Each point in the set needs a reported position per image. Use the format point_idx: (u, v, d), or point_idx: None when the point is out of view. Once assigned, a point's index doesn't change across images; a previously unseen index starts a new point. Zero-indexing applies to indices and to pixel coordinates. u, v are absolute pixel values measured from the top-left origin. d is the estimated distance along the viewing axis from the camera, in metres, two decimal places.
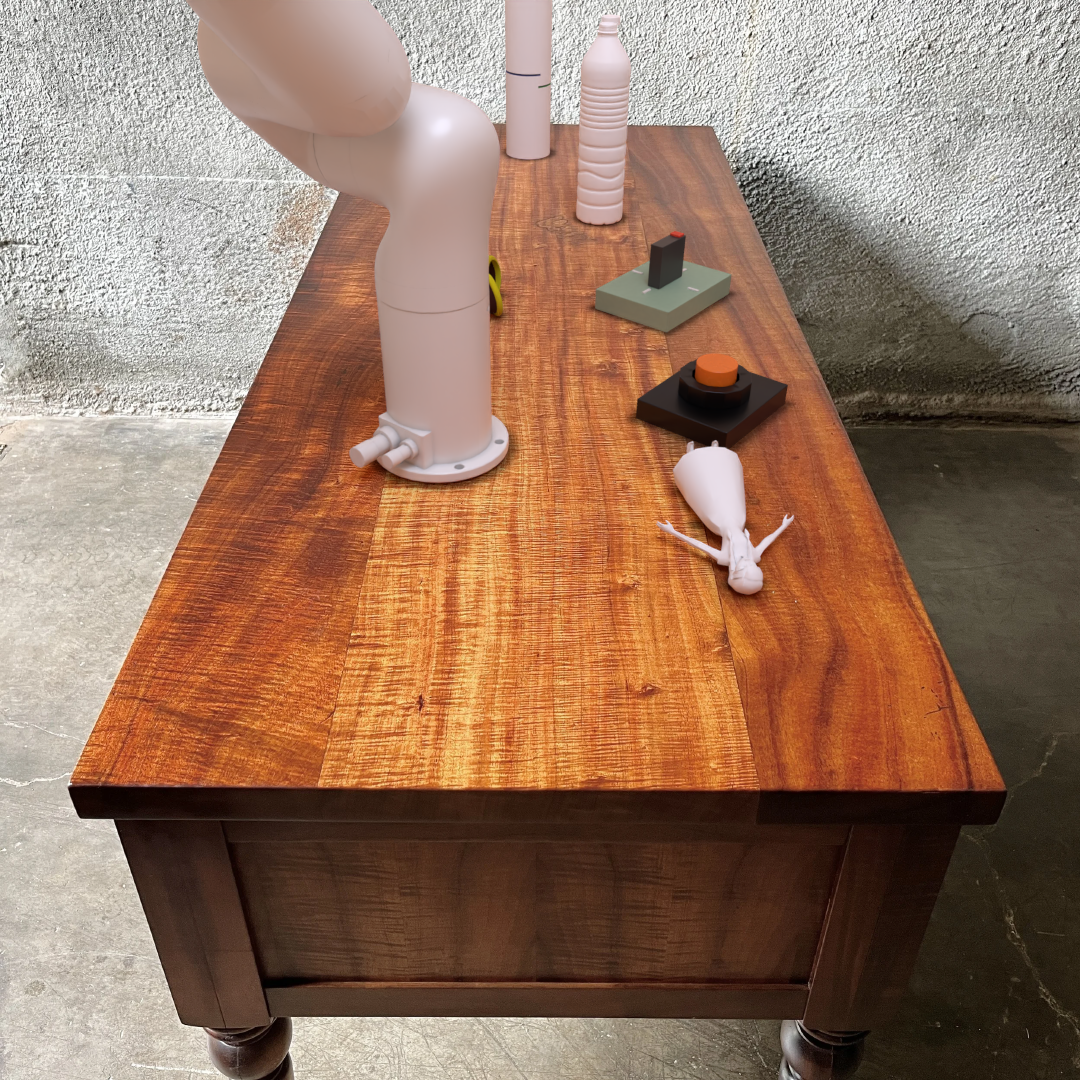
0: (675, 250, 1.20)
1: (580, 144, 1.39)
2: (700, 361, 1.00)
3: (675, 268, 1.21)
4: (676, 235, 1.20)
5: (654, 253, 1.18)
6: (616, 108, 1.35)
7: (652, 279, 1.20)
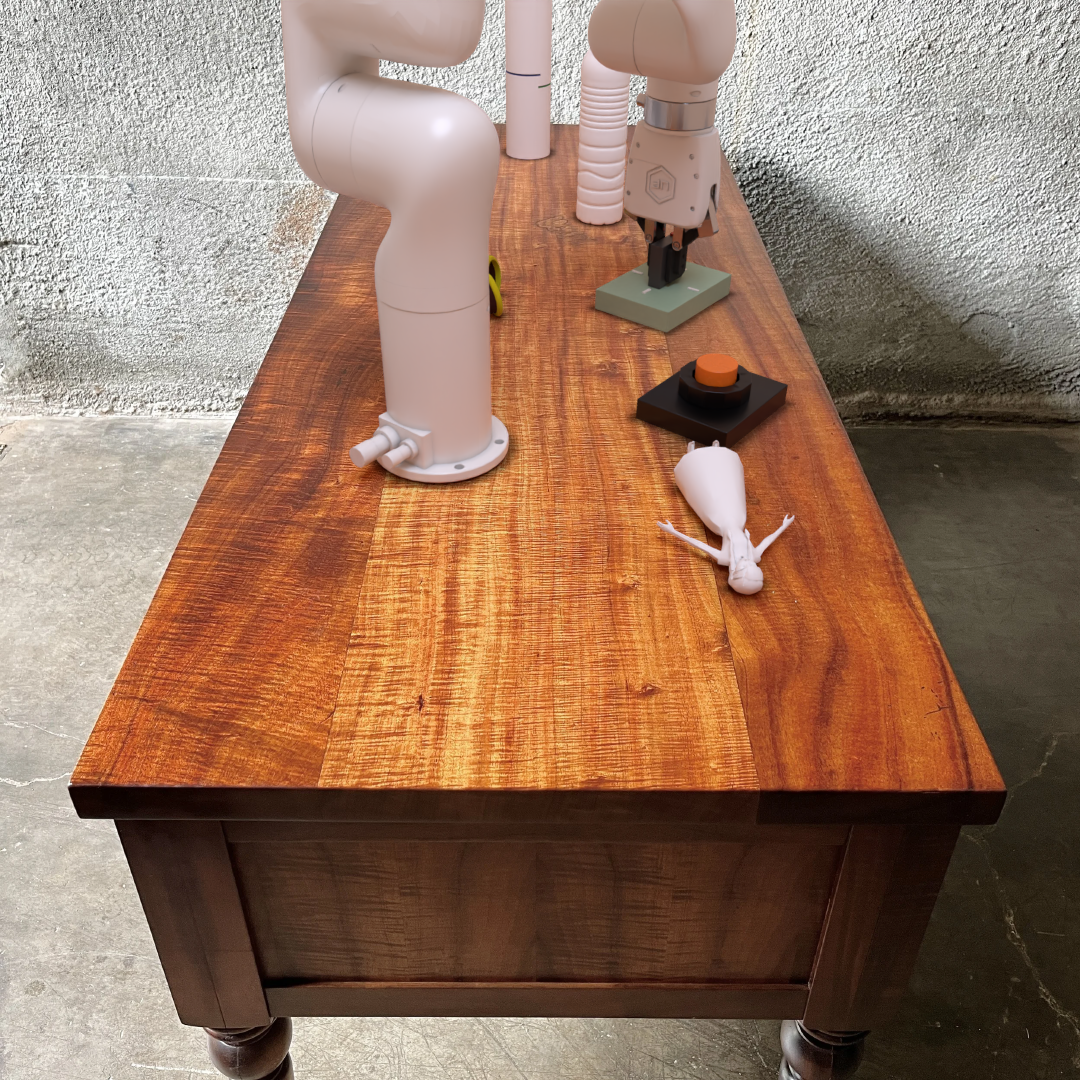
0: None
1: (580, 144, 1.39)
2: (700, 361, 1.00)
3: None
4: None
5: (654, 253, 1.18)
6: (616, 108, 1.35)
7: (652, 279, 1.20)
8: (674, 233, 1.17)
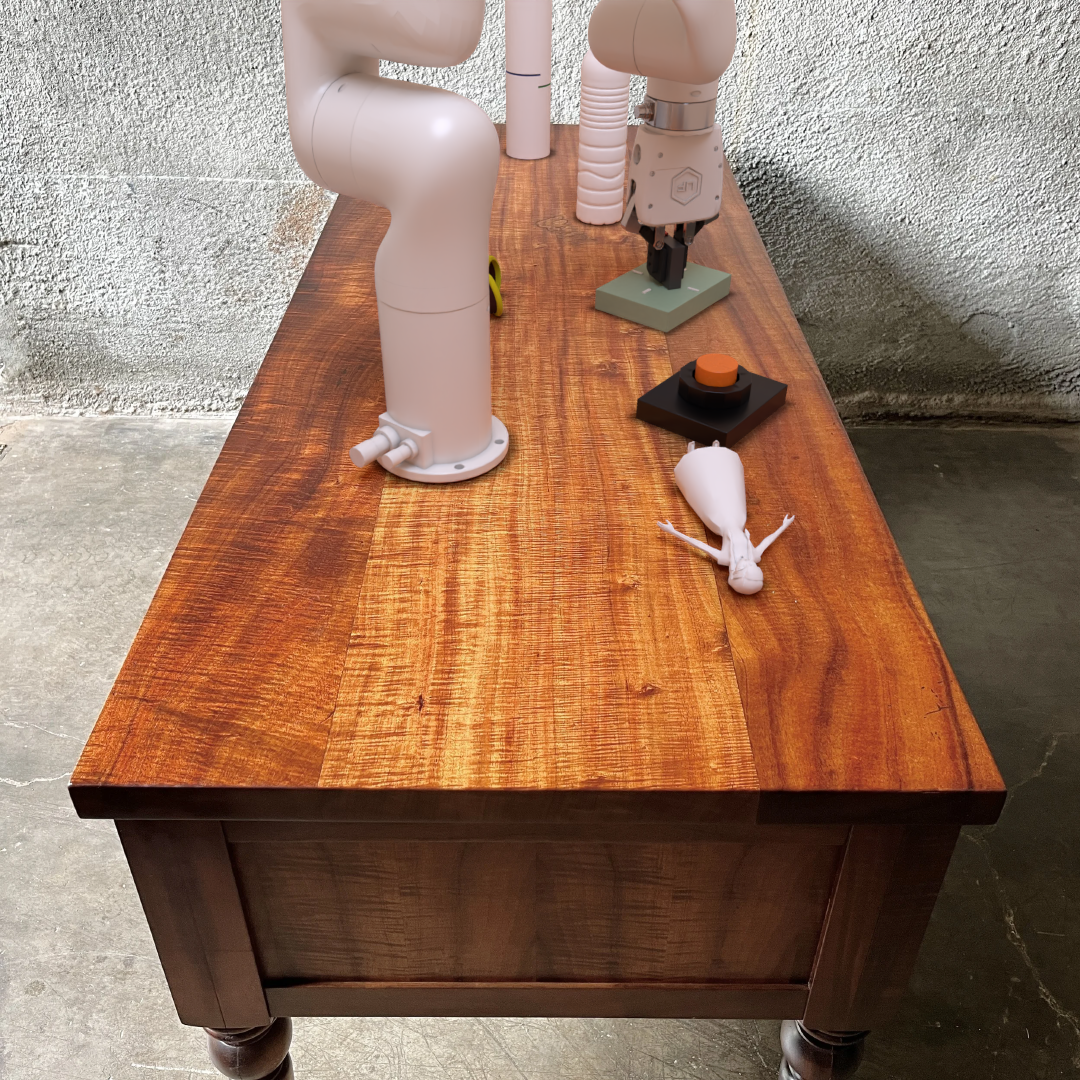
0: None
1: (580, 144, 1.39)
2: (700, 361, 1.00)
3: None
4: None
5: (676, 255, 1.18)
6: (616, 108, 1.35)
7: (674, 281, 1.20)
8: (687, 229, 1.18)
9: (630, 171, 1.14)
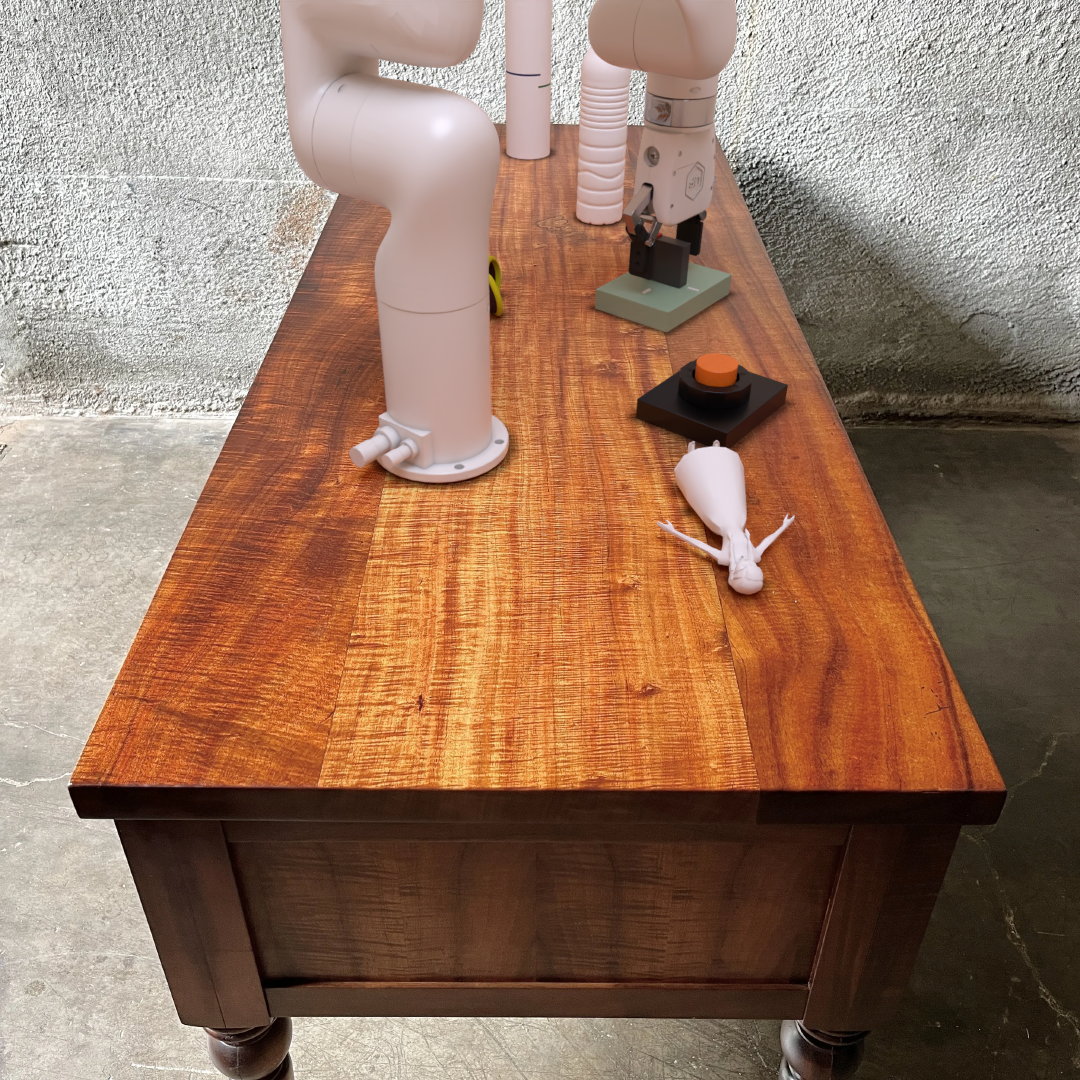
0: None
1: (580, 144, 1.39)
2: (700, 361, 1.00)
3: None
4: (659, 235, 1.20)
5: (685, 253, 1.18)
6: (616, 108, 1.35)
7: (682, 279, 1.20)
8: None
9: (639, 175, 1.12)
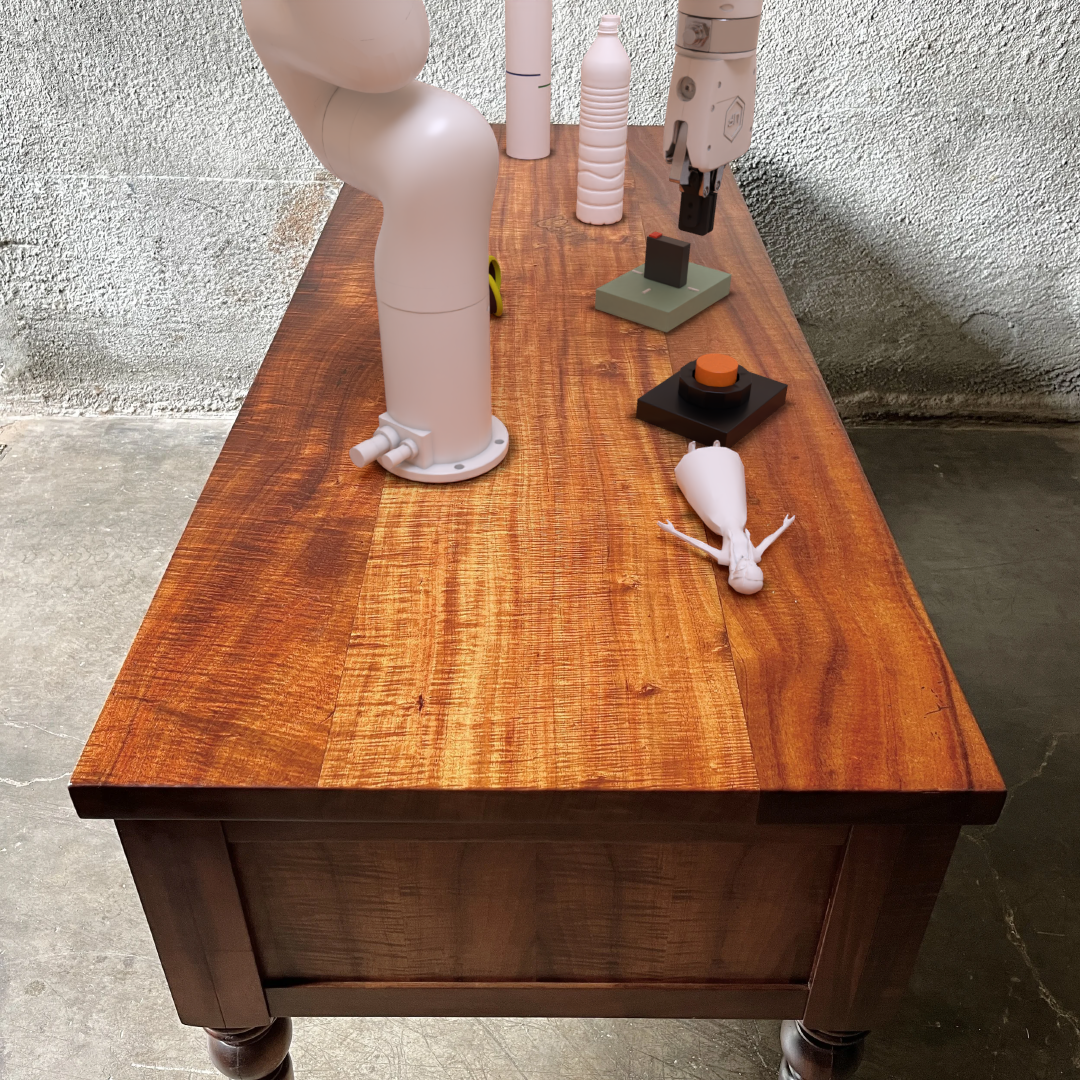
0: None
1: (580, 144, 1.39)
2: (700, 361, 1.00)
3: None
4: (659, 235, 1.20)
5: (685, 253, 1.18)
6: (616, 108, 1.35)
7: (682, 279, 1.20)
8: (718, 172, 1.02)
9: (671, 111, 0.96)
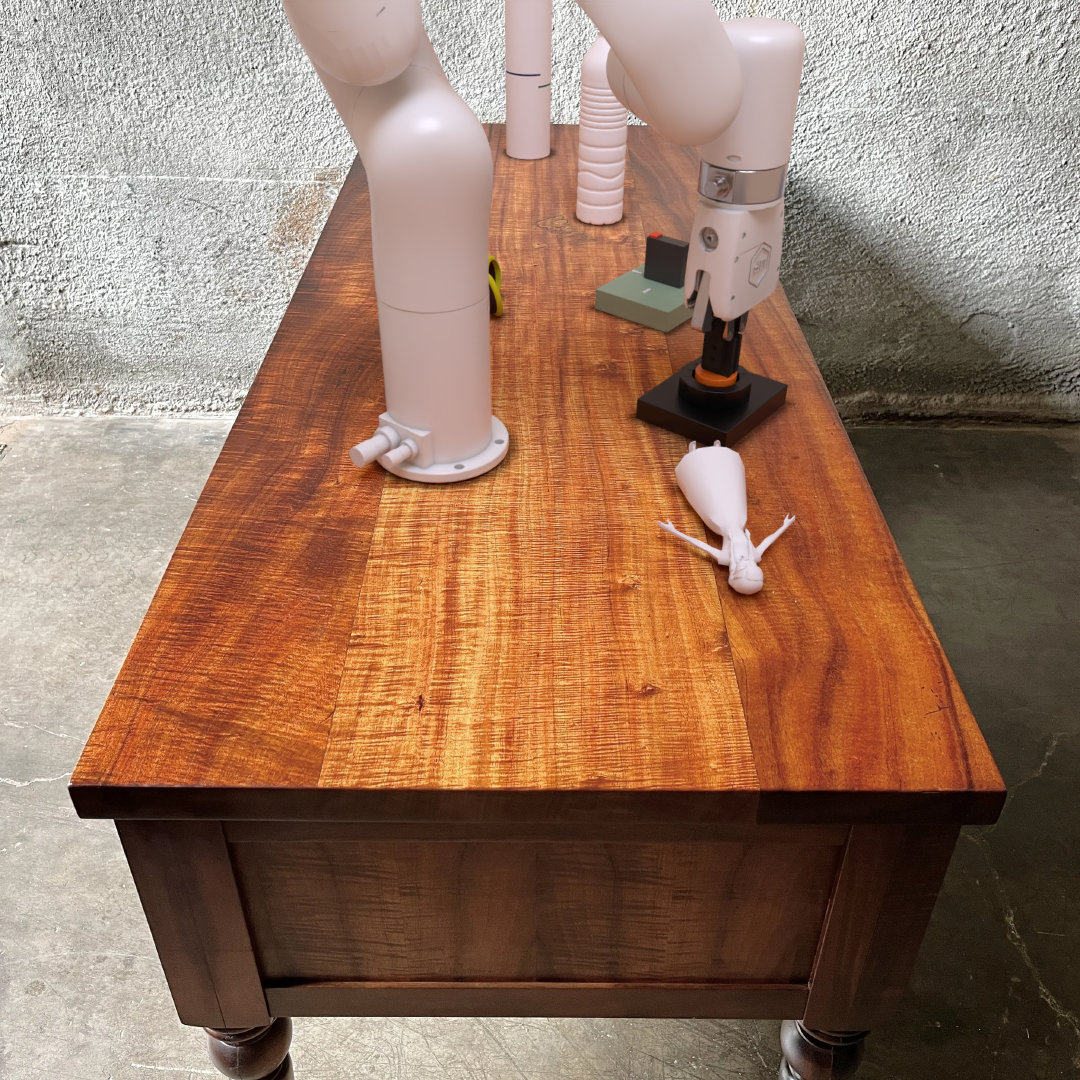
0: None
1: (580, 144, 1.39)
2: (699, 370, 1.00)
3: None
4: (659, 235, 1.20)
5: (685, 253, 1.18)
6: (616, 108, 1.35)
7: (682, 279, 1.20)
8: (743, 313, 0.97)
9: (692, 260, 0.90)
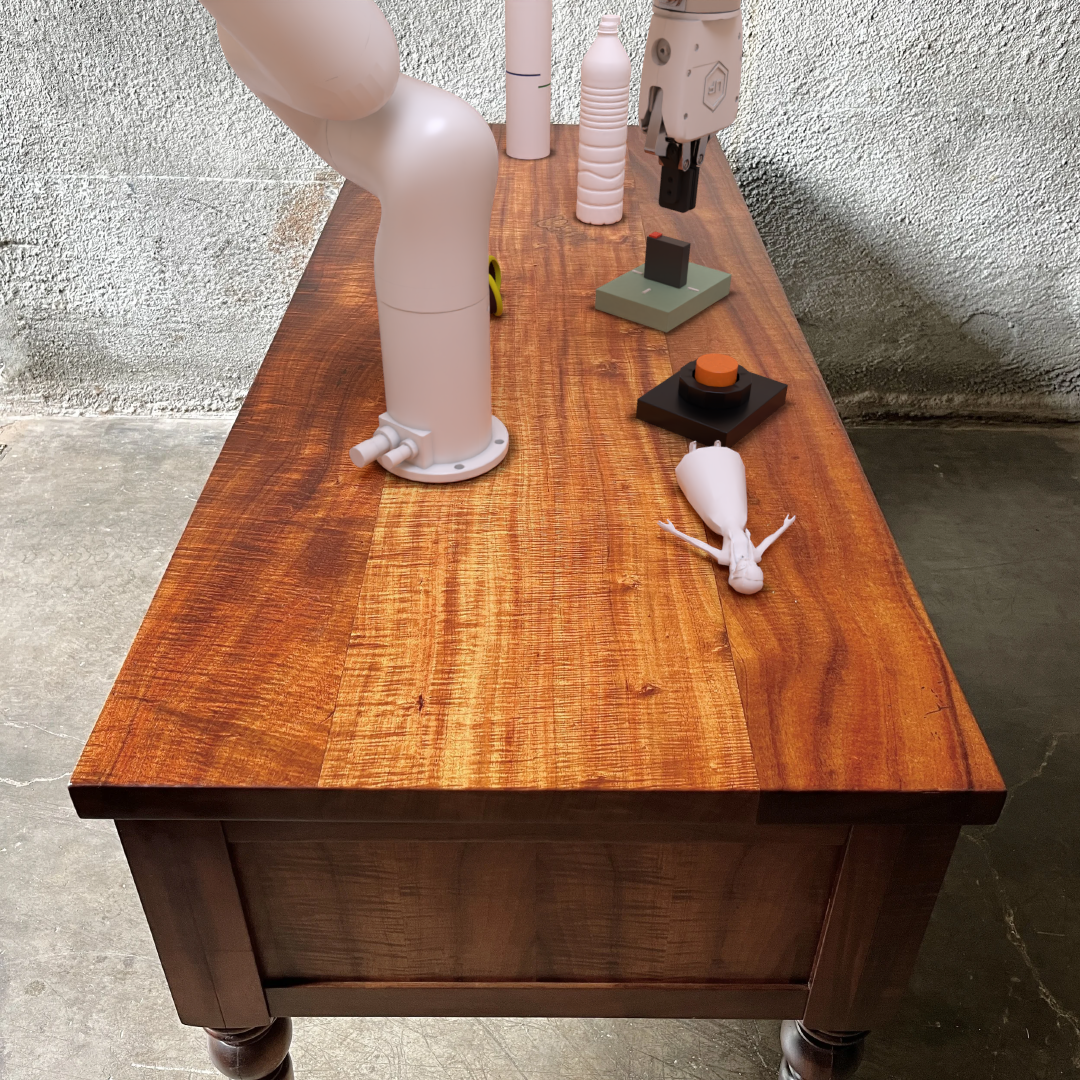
0: None
1: (580, 144, 1.39)
2: (700, 361, 1.00)
3: None
4: (659, 235, 1.20)
5: (685, 253, 1.18)
6: (616, 108, 1.35)
7: (682, 279, 1.20)
8: (701, 144, 0.95)
9: (646, 77, 0.89)
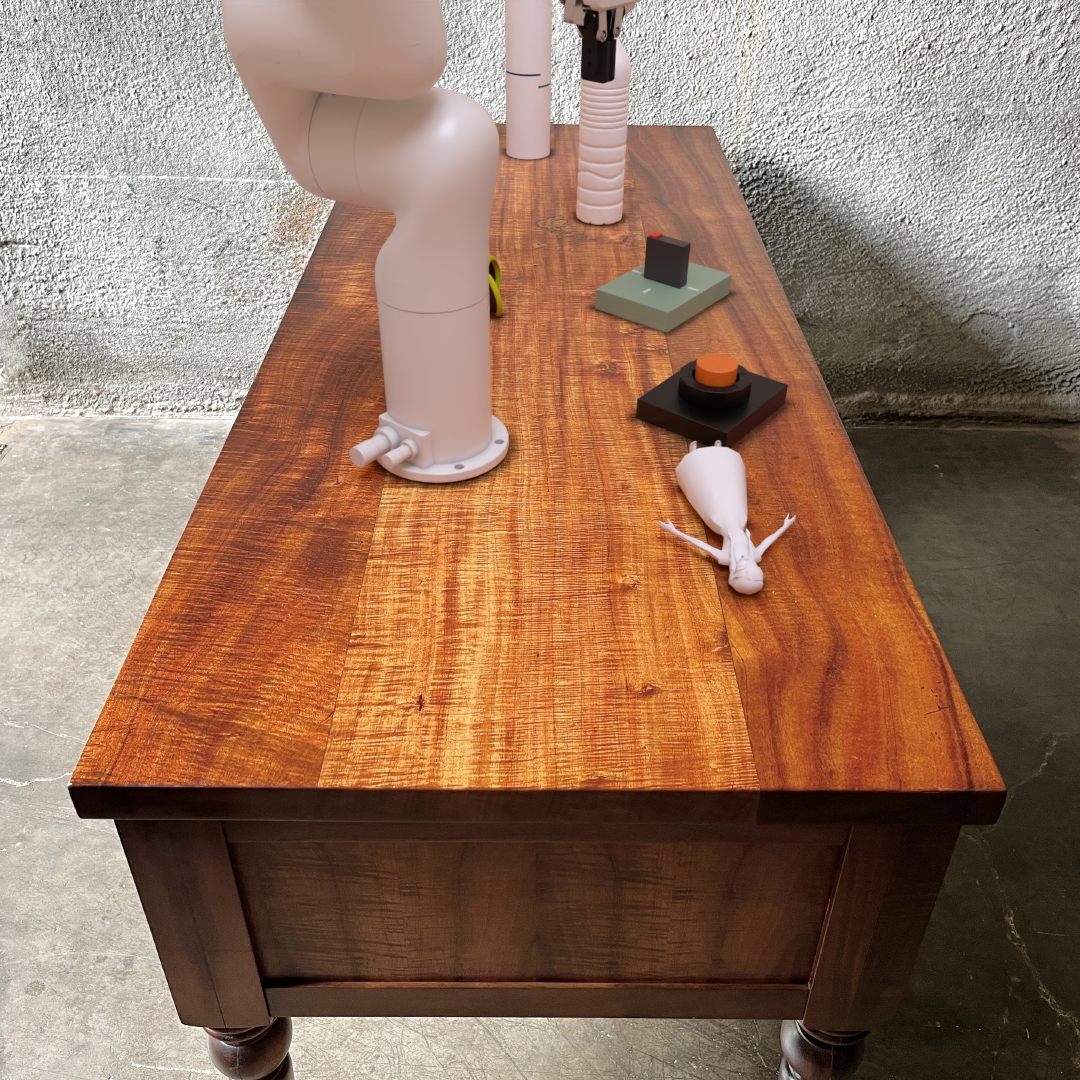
0: None
1: (580, 144, 1.39)
2: (700, 361, 1.00)
3: None
4: (659, 235, 1.20)
5: (685, 253, 1.18)
6: (616, 108, 1.35)
7: (682, 279, 1.20)
8: (616, 17, 1.03)
9: None
